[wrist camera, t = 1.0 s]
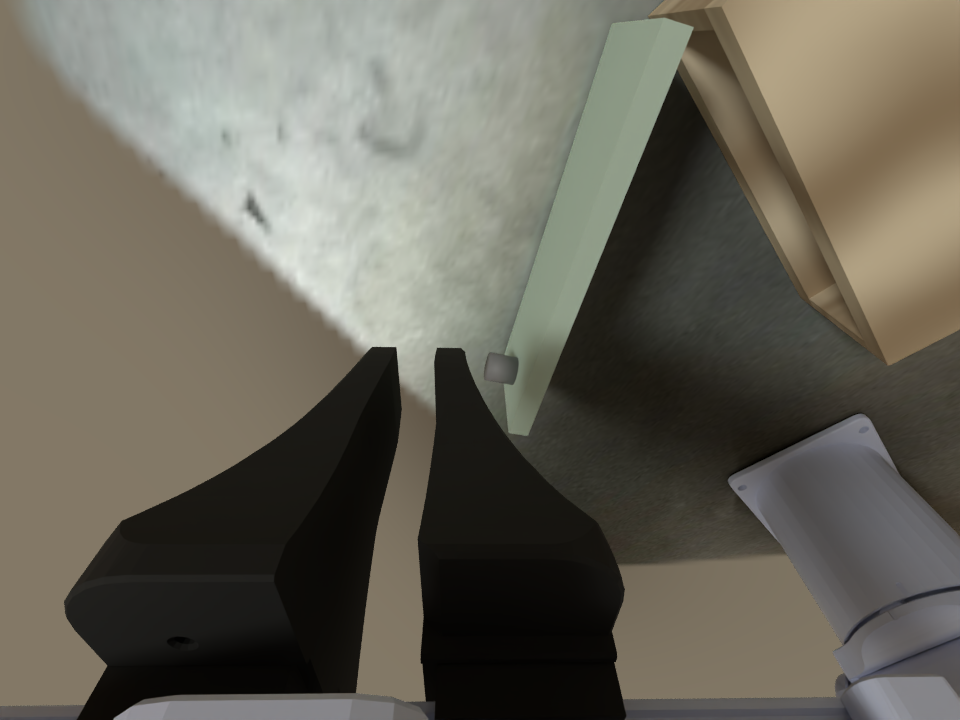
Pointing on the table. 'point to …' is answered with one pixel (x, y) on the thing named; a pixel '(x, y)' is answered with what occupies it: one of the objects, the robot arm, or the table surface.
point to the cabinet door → (587, 205)
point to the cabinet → (843, 150)
